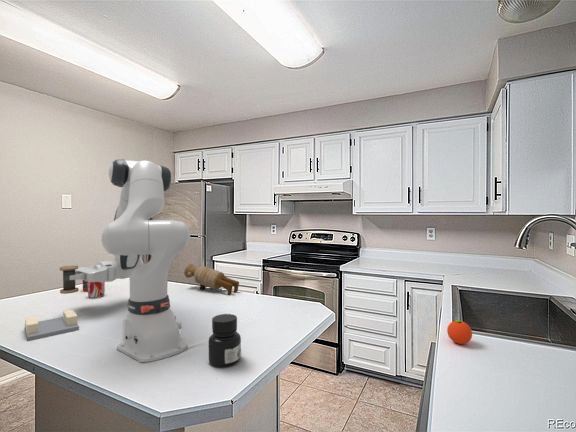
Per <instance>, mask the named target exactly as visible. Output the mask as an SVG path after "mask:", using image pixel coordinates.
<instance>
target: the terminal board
mask: <svg viewBox="0 0 576 432" xmlns="http://www.w3.org/2000/svg"><path fill="white" fill-rule="evenodd" d="M24 321H25V322H24V323H25V324H24V329H25V335H26V339H27V341H33V340H37V339H38V340H39V339H42V338H47V337H53V336H57V335H62V334H65V333H70V332H74V331H75V332H76V331H80V326H79V324H78V315H77V313H76V312H75V311H74V309H73V308H72V309H67V310H63V311H62V316H61V317H60V316H59V317H54V318H50V319H44V320H40V321H38V317H37V315H35V316H29V317H24Z"/></svg>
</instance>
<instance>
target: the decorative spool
mask: <svg viewBox="0 0 576 432" xmlns="http://www.w3.org/2000/svg"><path fill="white" fill-rule="evenodd" d="M183 274H184V276H185V278H187V279H189V278H193V277H194V281H195V283H196V284H199V290H201V291H204V290H206V288H209V289H210V291H211V290H214V291H218V290H220V289H222V288H223V289H225V290H227V294H226V295H228V296H230V295H232V294H233V293H238V291H239V286H240V281H238V280H235V279H234V278H233V279H232V278H229V277H227V276H225V274H224V272H222V271H220V270H216V269H214V268H210V267H208V266H204V265H203V266H202V265H201V266H199V267H198V268H197V267H196V266H195V264H194V263H189V264H188V265H187V266H185V268H184V272H183ZM232 292H233V293H232Z"/></svg>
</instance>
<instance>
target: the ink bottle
mask: <svg viewBox="0 0 576 432" xmlns="http://www.w3.org/2000/svg"><path fill="white" fill-rule="evenodd" d="M211 323H212V324H211V329H212V331H211V332H212V334H210V336H209V338H208V341H207V343H208V344H207V345H208V364H210V365H211V366H213V367H216V368H229V367H233V366H235V365H236V364H238V363H239V362H240V361H241V358H242V338H241V335H240V333H239V332H238V331H237V330H238V317H237V315H235V314H231V313H224V314H217V315H215V316H213V317H212V318H211Z"/></svg>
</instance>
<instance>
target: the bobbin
mask: <svg viewBox="0 0 576 432" xmlns="http://www.w3.org/2000/svg"><path fill="white" fill-rule="evenodd" d="M78 268H79V265H66V266H60V267H59V271H60V272H61V271H62V286H63V287H62V289H60V290H59V293H60V294H62V295H65V294H74V293H76V292H79V287H76V280H69V275H75V269H78Z"/></svg>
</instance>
